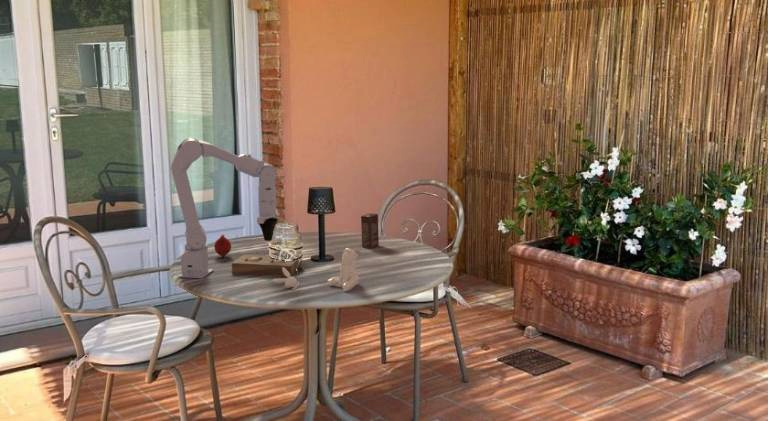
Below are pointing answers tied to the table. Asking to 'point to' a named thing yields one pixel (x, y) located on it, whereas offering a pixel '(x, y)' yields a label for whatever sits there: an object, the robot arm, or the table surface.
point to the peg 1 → (254, 259)
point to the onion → (222, 246)
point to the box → (369, 230)
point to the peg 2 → (278, 261)
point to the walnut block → (262, 266)
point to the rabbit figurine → (287, 280)
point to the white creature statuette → (346, 272)
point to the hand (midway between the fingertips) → (268, 240)
